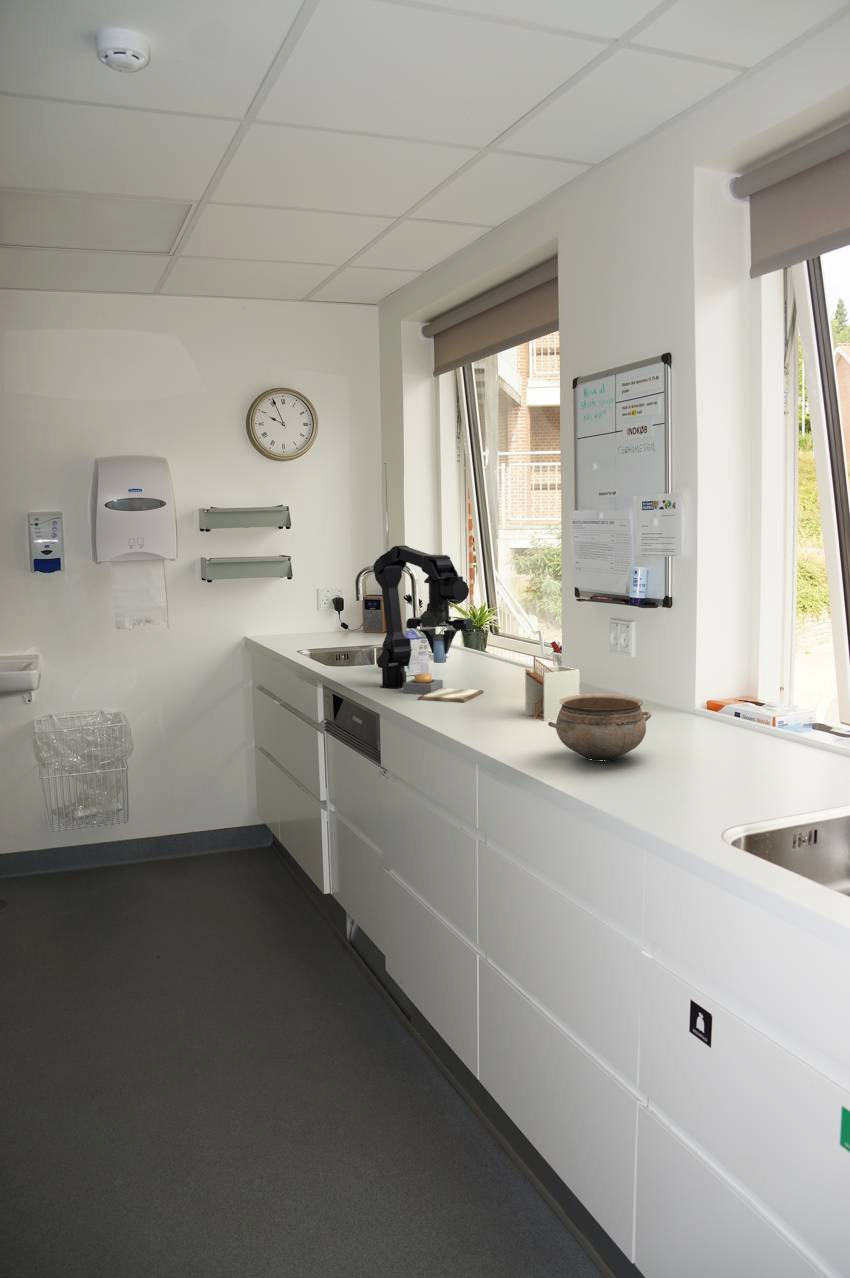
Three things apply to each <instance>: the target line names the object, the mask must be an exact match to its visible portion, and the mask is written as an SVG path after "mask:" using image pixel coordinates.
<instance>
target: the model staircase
mask: <svg viewBox="0 0 850 1278" xmlns="http://www.w3.org/2000/svg"><path fill="white" fill-rule="evenodd" d="M524 671H525V672H524V674H525V675H524V678H525V681H524V683H525V684H524V685H525V688H524V689H525V694H524V695H525V697H524V699H525V700H524V701H525V703H524V704H525V705H524V707H525V712H524V713H525V716H530V715H529V714H532V715H534V717H533V718H535V717H536V718H535V719H537V718H539V719H538V720H541V719H543V720H547V721H549V720H548V719H555V720H557V719H556V718H557V717H558V714H559V712H560V709H561V707H562V704H560V702H559V701H560V699H562V698H565V697H568V696H574V695H580V669H577V668H574V667H573V668H571V667H568V666H563V665H553V666H547V665H545V664H544V663H543V662H541V661H540V660H538V659H537V658H536V655H535V654H534V655H533V667H531V668H525V670H524ZM543 720H542V721H543Z"/></svg>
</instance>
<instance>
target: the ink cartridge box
mask: <svg viewBox="0 0 850 1278" xmlns="http://www.w3.org/2000/svg"><path fill="white" fill-rule="evenodd" d="M410 633H411V634H410ZM405 637H406V638H410V641H411V649H412V651H411V657H410V662H409V666H405V671H406V677H410V676H415V674H430V666H429V661H430V660H429V643H428V640H427V638H426V636H418V635H417V633H416V630H405Z"/></svg>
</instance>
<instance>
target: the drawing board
mask: <svg viewBox="0 0 850 1278" xmlns="http://www.w3.org/2000/svg"><path fill="white" fill-rule="evenodd" d="M482 694H484V689H483V690H482V689H467V688H449V687H448V688H447V687H445V688H444V687H443V688H440V689H437V690H435V691H433V692H429V693H426V694H421V695H420V696H418V697H417V699H418V701H431V702H433V701H434V702H447V703H449V702H450V703H467V702H468V701H470V700H472V699H474V698H477V697H478V696H481V695H482Z"/></svg>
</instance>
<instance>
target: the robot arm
mask: <svg viewBox="0 0 850 1278" xmlns="http://www.w3.org/2000/svg"><path fill="white" fill-rule="evenodd" d="M407 564H410V565H413V566H416V567H419V568H420V569H421V571H422V572H423V573H425V574H426V575H427V577H426V578H425V579H424V580H423V582H424V584H428V603H426V610H424V611H423V612H422V614H421V615H420V616H417V617H416V616H415V617H410V618H408V619H407V620H406V621H405V626H406V627H405V628H406V629H417V628H418V627H419V629H418V631H419V632H421V633H422V634H423V635H424V637H426V638H427V640H428V646H429V648H430V651H431V653H432V654H434V653H433V634H437V633H436V628H437V627H440V628H446V629H445V630H443V634H445V654H446V655H447V654H448V653H449V650H450V649H451V646H452V643H453V640H454V639H455V636H456V635H457V633H458V632H460V631H461V630H462V631H467V630H472V629H473V628H474V622H473V620H472V618H467V617H466V618H465V617H460V618H459V617H458V618H456V619H453V620H451V618H452V615H450V606H451V601H457V602H463V601H465V600H466V599H467V598H468V596H469V593H470V588H469V586H468V584H467V582H466V581H465V580H464V576H460V575H459V574H458V571H457V569H456V568H455V565H454V564H453V562H452V560H451V556H449V555H447V554H429V553H426V552H424V551H421V550H418V549H414V548H412V547H410V546H407V545H394V546H392V547H391V548H390V549H389V550H388V551H387V552H385V553H384V554H382V555H380V556H379V557H378V559H376V560H375V562H374V563H373V565H372V569H373V574H374V578H375V580H376V582H377V584H378V585H379V586H380V588H381V593H382V594H381V595H382V604H383V612H384V621H385V631H386V636H385V637H384V640H383V642H382V651H381V653H380V655H379V657H378V658H377V659H376V663H377V668H381V673H382V675H381V677H382V678H381V679H382V684H381V685H379V686H380V688H387V689H388V688H389V689H401V688H403V683H405V682H407V676H406V671H405V666H409V662H410V657H411V651H412V649H411V641H410V638H406V634H404V632H403V623H402V621H403V620H402V613H401V604H400V602H401V601H400V595H399V594H400V593H399V584H400V582H401V580H402V578H403V570H404V569H405V568H406V566H407Z"/></svg>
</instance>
